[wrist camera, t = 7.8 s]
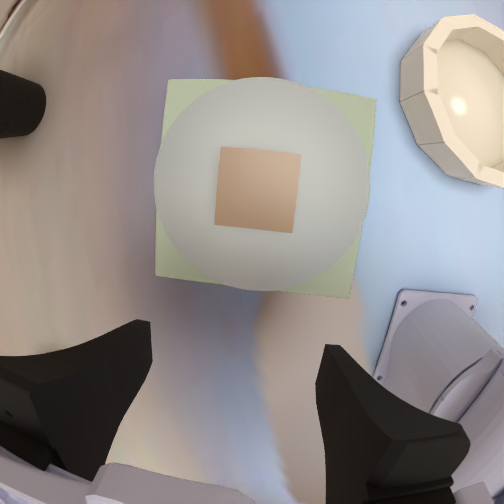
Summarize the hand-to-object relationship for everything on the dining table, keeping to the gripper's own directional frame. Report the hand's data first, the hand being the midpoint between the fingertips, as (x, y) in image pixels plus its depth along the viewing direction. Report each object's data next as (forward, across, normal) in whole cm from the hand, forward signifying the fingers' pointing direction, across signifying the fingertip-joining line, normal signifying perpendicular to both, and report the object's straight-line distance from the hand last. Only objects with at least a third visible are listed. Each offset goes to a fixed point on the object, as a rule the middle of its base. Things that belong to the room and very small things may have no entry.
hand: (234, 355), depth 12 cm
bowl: (+10, -15, -15) cm, 24 cm away
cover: (+10, 0, -6) cm, 12 cm away
